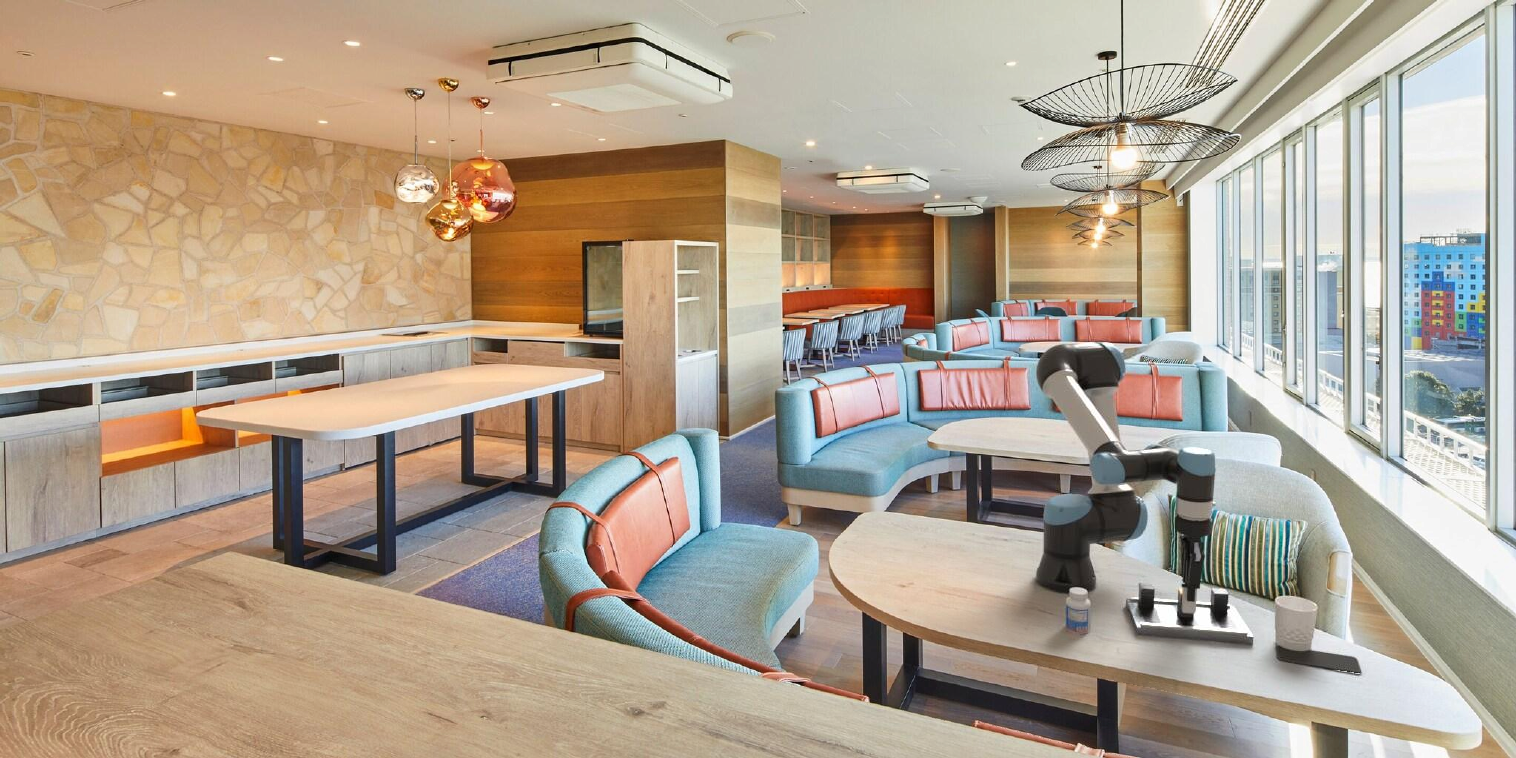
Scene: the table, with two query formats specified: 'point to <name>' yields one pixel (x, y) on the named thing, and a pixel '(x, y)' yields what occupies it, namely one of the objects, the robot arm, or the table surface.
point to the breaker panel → (1187, 618)
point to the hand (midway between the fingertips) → (1188, 611)
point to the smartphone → (1318, 659)
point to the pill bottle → (1078, 611)
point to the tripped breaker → (1179, 606)
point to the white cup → (1294, 622)
